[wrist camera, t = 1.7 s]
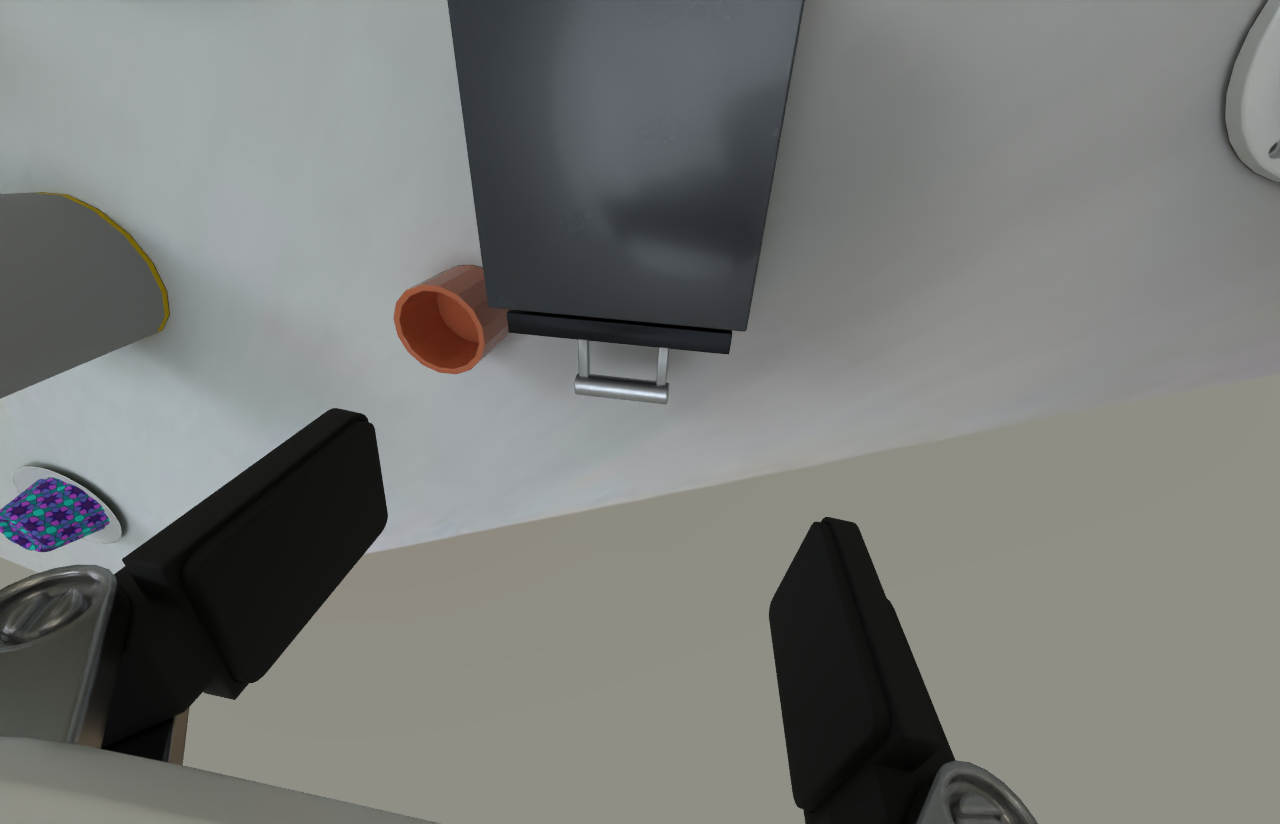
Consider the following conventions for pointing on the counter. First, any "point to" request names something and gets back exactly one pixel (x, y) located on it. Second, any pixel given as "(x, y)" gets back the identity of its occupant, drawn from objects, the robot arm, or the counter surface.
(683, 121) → the dark gray drawer box
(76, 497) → the pudding
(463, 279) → the cup
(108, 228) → the soap bottle
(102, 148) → the counter surface
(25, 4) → the counter surface
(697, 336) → the drawer
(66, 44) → the counter surface
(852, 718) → the robot arm
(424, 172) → the counter surface
